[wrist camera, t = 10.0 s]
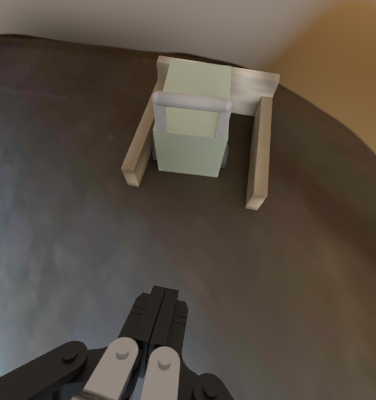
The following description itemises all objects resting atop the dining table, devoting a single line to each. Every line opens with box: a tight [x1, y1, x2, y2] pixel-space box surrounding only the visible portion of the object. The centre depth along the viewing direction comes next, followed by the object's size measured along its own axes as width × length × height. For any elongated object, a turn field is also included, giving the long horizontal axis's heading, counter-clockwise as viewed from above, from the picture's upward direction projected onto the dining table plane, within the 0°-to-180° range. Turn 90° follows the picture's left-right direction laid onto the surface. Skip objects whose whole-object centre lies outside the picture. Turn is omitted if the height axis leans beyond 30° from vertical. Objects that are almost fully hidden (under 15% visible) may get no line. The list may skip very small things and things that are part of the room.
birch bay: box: [121, 56, 279, 210], centre depth 24 cm, size 13×14×5 cm
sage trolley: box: [152, 60, 233, 177], centre depth 22 cm, size 8×10×10 cm
